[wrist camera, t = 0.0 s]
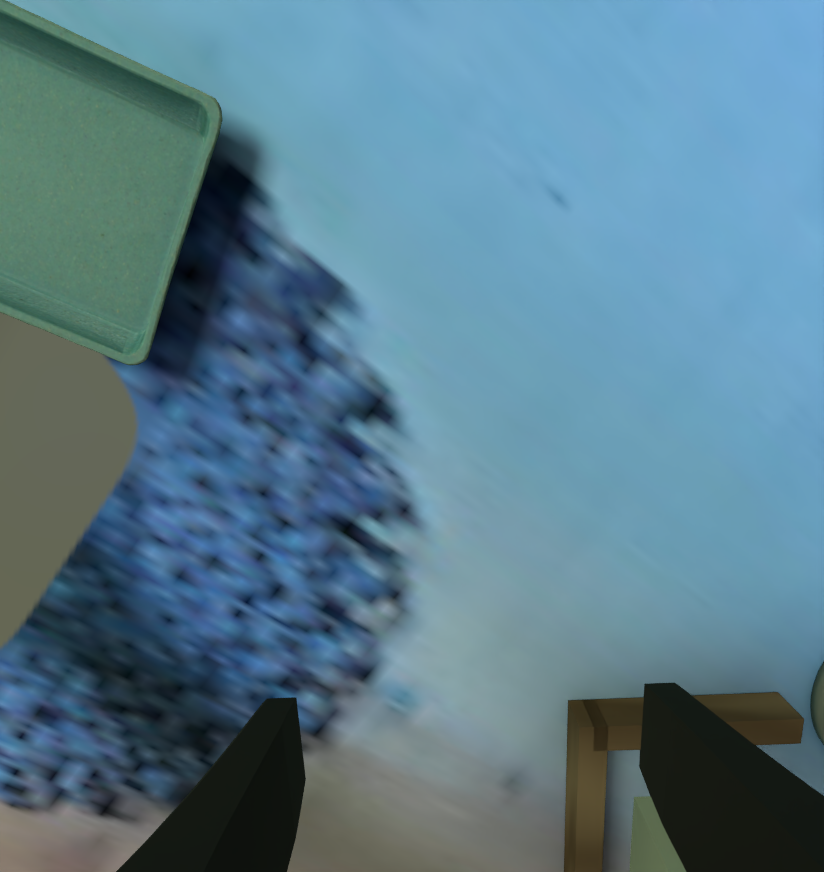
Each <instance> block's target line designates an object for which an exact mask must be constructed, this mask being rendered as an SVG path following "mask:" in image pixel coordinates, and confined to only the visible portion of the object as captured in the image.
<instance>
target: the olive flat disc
mask: <svg viewBox="0 0 824 872" xmlns="http://www.w3.org/2000/svg"><path fill="white" fill-rule="evenodd" d="M811 717H812V721H813V725H814V728H815V730H816V733H817V735H818V737H819V739H820V740H821V742H822V743H823V745H824V662H823V664H822V666H821V668H820V670H819V671H818V674H817V677H816V679H815V682H814V685H813V690H812V694H811Z"/></svg>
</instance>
